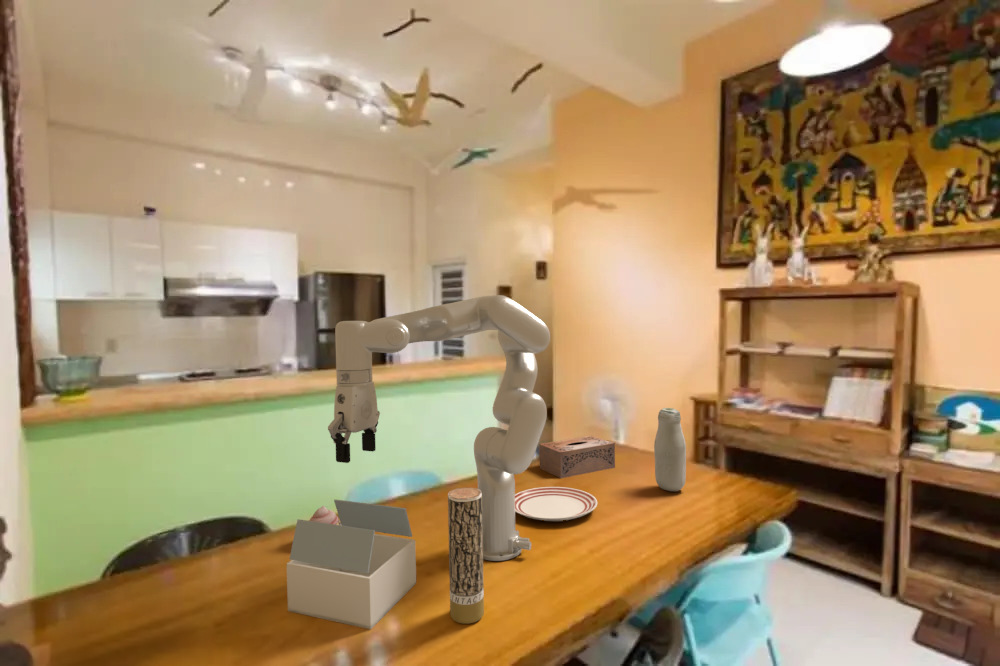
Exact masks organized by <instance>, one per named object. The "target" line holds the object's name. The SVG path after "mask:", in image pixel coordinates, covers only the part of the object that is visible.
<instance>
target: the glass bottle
mask: <svg viewBox="0 0 1000 666" xmlns="http://www.w3.org/2000/svg"><path fill="white" fill-rule="evenodd" d="M681 417H682V416H681V412H680V411H679V410H678V409H675V408H674V407H672V408H671V407H663V408H662V409H660V410H659V412H658V415H657V421H658V422H657V425H658V426H657V431H656V434H655V439H654V443H653V444H654V445H653V448H654V449H653V450H654V451H653V453H654V454H653V455H654V474H655V475H654V476H655V482H656V483H657V486H658V487H659V488H660V489H662V490H664V491H667V492H671V493H672V492H673V493H674V492H679V491H681V490H682V489H683V488H684V486H685V484H686V479H687V478H686V477H687V474H686V473H687V468H686V467H687V443H686V439H685V436H684V432H683V427H682V424H681V420H682V418H681Z"/></svg>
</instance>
